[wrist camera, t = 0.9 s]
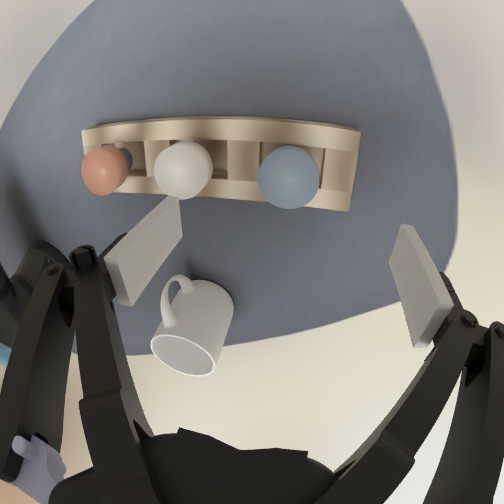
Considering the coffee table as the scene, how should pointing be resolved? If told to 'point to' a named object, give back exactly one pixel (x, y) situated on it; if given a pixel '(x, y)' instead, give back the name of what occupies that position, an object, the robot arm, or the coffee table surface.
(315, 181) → the slate ball
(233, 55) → the coffee table surface
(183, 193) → the cream rounded piece
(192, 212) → the coffee table surface
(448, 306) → the robot arm
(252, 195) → the three-ball wooden rack
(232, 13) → the coffee table surface
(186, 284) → the mug
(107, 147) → the terracotta ball
